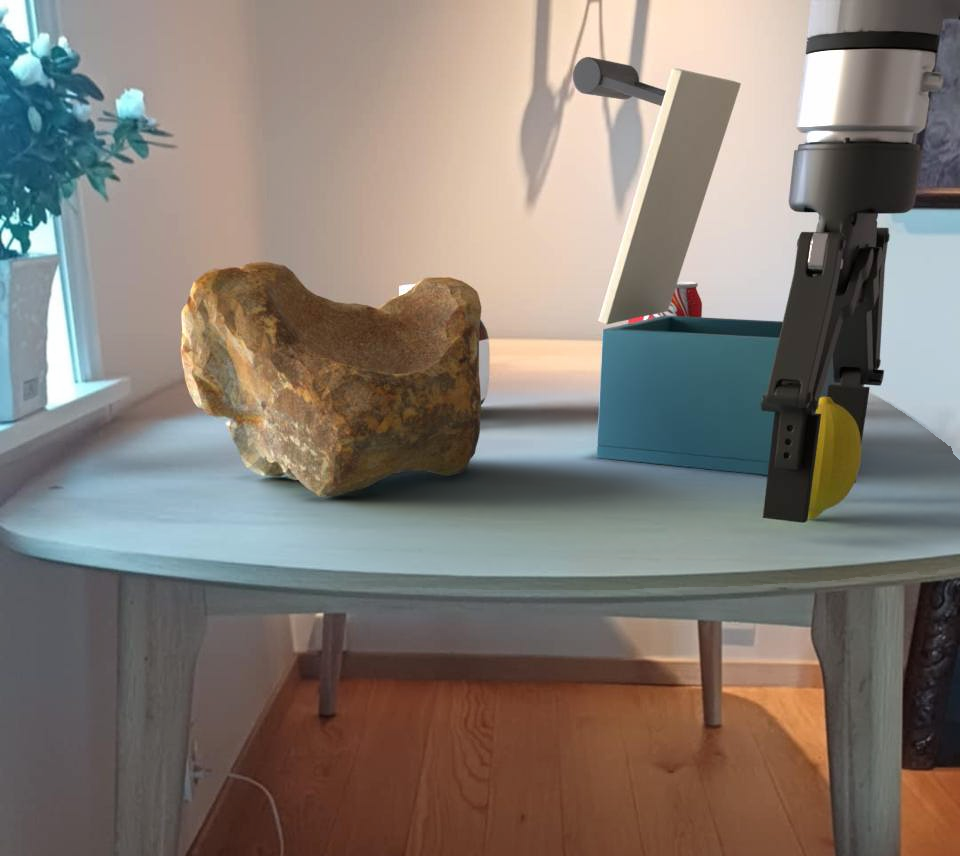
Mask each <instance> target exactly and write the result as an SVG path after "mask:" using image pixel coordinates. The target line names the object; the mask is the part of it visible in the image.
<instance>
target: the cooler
mask: <svg viewBox="0 0 960 856" xmlns="http://www.w3.org/2000/svg"><path fill="white" fill-rule="evenodd" d="M782 323H783V320H782V321H781V320H762V319H761V320H760V319H743V318H741V319H739V318H722V317H704V316H702V317H684V316H660V317H656V318H651V319H647V320H642V321H638V322H633V323H629V324H628V323H625V324H621V325H616V326H611V327H607V328H603V329H602V335H601V337H602V338H601V357H600V360H601V362H600V377H599V378H600V379H599V396H598V397H599V399H598V400H599V401H598V421H597V439H596V440H597V441H596V443H597V445H596V458H597V459H605V460H614V461H615V460H616V461H625V462H633V463H634V462H635V463H645V464H653V465H654V464H656V465H664V466H674V467H682V468H683V467H685V468H693V469H694V468H695V469H702V470H712V471H713V470H714V471H721V472H733V473H743V474H751V475H752V474H753V475H762V476H768V467H769V458H770V449H771V441H772V432H773V423H774V414H775V412H766V411H762V410H761V400H762V396H763V395H764V396H765V395H766V391H767V389H768V385H769V380H770V376H771V371H772V367H773V363H774V358H775V354H776V349H777V345H778V341H779V336H780V332H781V327H782ZM833 374H834V370H833V355H832V359H831V362H830V366H829V369H828V372H827V376H826V379H825V382H824V386H823V389H822V392H821V396H820V397H827V393H828V386H829V385H831V384H834V385H840V383H836V382H834V377H833Z"/></svg>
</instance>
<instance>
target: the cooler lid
mask: <svg viewBox="0 0 960 856" xmlns="http://www.w3.org/2000/svg"><path fill="white" fill-rule="evenodd" d="M572 83H573V86H574V87H575V89H576V90H577V92H579V93H581V94H584V95H588V96H589V95H590V96H597V97H603V98H610V99H617V100H618V99H619V100H624V101H625V100H629V99H631V98H632V97H633V98H636V99H638V100H642V101H645V102H647V103H651V104H653V105H657V106H660V110H659V114H658V116H657V120H656V124H655V128H654V130H653V134H652V137H651V140H650V144H649V148H648V150H647V151H648V152H647V154H646V158H645V162H644V165H643V168H642V172H641V175H640V179H639V181H638V186H637V189H636V192H635V196H634V199H633V203H632V206H631V209H630V213H629V216H628V219H627V223H626V226H625V230H624V233H623V237H622V240H621V243H620V247H619V250H618V253H617V256H616V261H615V264H614V267H613V270H612V274H611V278H610V281H609V285H608V288H607V290H606V291H607V292H606V295H605V298H604V301H603V305H602V308H601V312H600V315H599V318H598V322H600V323H601V324H604V325H611V324H616V323H620V322H624V321H628V320H630V319H634V318H639V317H643V316H648V315H652V314H657V313H661V312H666V311H668V309H669V306H670V303H671V300H672V297H673V294H674V291H675V288H676V284H677V281H679V278H680V275H681V272H682V268H683V266H684V262H685V260H686V256H687V253H688V250H689V247H690V244H691V241H692V237H693V234H694V232H695V228H696V226H697V222H698V219H699V216H700V212H701V210H702V207H703V203H704V200H705V197H706V195H707V191H708V188H709V185H710V181H711V178H712V176H713V172H714V169H715V167H716V163H717V160H718V157H719V153H720V150H721V148H722V144H723V141H724V138H725V135H726V132H727V129H728V125H729V123H730V119H731V117H732V113H733V110H734V107H735V104H736V101H737V98H738V95H739V91H740V88H741V84H742V83H741V82H738V81H735V80H732V79H727V78H723V77H717V76H713V75H708V74H704V73H700V72H695V71H690V70H685V69H681V68H676V67H673V68H672V69H671V72H670V76H669V80H668V83H667V86H666V90H665V89H662V88H659V87H656V86H654V85H651V84H647V83H644V82H641V81H640V76H639V73H638V71H637V69H636V68H635V67H634V66H633V65H629V64H624V63H619V62H617V61H616V62H615V61H610V60H605V59H601V58H596V57H592V56H586V57H582V58H581V59H579V60H578V61H577V62H576V64H575V65H574V68H573V70H572Z"/></svg>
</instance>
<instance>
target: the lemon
mask: <svg viewBox="0 0 960 856" xmlns="http://www.w3.org/2000/svg"><path fill="white" fill-rule="evenodd" d="M815 413H816V414H821V420H820V428H819V435H818V443H817V451H816V458H815V466H814V474H813V481H812V489H811V497H810V504H809V512H808V520H813V519H816V518H817V517H818V516H819V515H821V514H822V513H823V511H825V510H828V509H831V508H833V507H835V506H836V505H838V504H839V503H841V502H842V501H843V500H844V499H845V498H846V496H848V495H849V493H850V492H851V490H852V489H853V486H854V484H855V483H854V482H855V480H856V481H857V478H858V474H859V471H860V467H861V466H860V465H861V459H862V444H861V440H860V433H859V429H858V426H857V423H856V421H855V420H854V418H853V417H852V416H851V414H850V413H849V412H848V411H847V410H845V409H844V408H843V407H841V406H840V405H838V404H835V403H834V402H833V400H832V399H831V398H830V397H820V399H819V404H818V409H817V410H816V412H815ZM856 477H857V478H856Z"/></svg>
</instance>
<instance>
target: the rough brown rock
mask: <svg viewBox="0 0 960 856" xmlns="http://www.w3.org/2000/svg"><path fill="white" fill-rule="evenodd" d="M415 284H416V285H415V286H414V287H412V288H411V289H409V290H408V291H407V292H405V293H403V294H401V295H399V294H398V295H396V296H394V297H392V298H390V299H389V300H387V301H386V302H385V303H383V304H382V305H379V306H378V307H373V306H370V305H367V304H361V303H356V302H353V303H350V302H349V303H347V302H338V301H334V300H331V299H329V298H326V297H323V296H320V295H317V294H315V293H314V292H312V291H311V290H310V289H308V288H307V287H306V286H305V285H304V284H303V282H302V281H301V280H300V279H299V278H298V277H297V275H296V274H295V273H294V272H293V271H292V270H291V269H290V268H289V267H287V266H286V265H284V264H279V263H274V262H269V261H258V262H249V263H246V264H244V265H242V266H240V267H237V266H236V267H235V266H226V267H220V268H213V269H210V270H208V271H206V272H204V273H203V274H202V275H201V276H200V277H198V278H197V279H196V280H195V281H193V284H192V286H191V289H190V293H189V296H188V298H187V302H186V304H185V305H184V307H183V308H182V310H181V331H182V332H181V347H180V355H181V362H182V363H181V364H182V368H183V372H184V381H185V383H186V386H187V390H188V393H189V395H190V397H191V399H192V401H193V403H194V404H195V406H196V407H197V408H198V409H200V410H202V411H203V412H205V413H206V414H207V415H209V416H212V417H215V418H217V419H219V420H221V421H222V422H224V423H225V425H226V427H227V429H228V431H229V433H230V435H231V439H232V441H233V443H234V445H236V448H237V451H238V453H239V456H240V458H241V460H242V462H243V464H244V465H245V467H246V468H247V469H248V470H250V471H251V472H253V473H255V474H257V475H259V476H262V477H271V478H281V477H282V476H283V477H284V476H286V477H287V478H288V479H290V480H293V481H299V482H300V483H301V485H303V486H304V487H305V488H306V489H308V490H309V491H311V492H313V493H315V495H317V496H318V497H321V498H327V499H328V498H333V497H337V496H339V495H343V494H346V493H352V492H356V491H359V490H362V489H365V488H368V487H370V486H371V485H373V484H375V483H377V482H379V481H381V480H383V479H385V478H388V477H389V476H392V475H394V474H399V473H403V472H415V471H422V472H423V471H424V472H428V473H433V474H438V475H440V476H446V477H447V476H448V477H451V476H454V475H458V474H461V473H463V472H464V470H466V468H467V467H468V466H469V464H470V461H471V459H472V458H473V457H474V455H475V454H476V451H477V450H476V449H477V445H478V442H479V439H480V435H481V410H482V405H481V392H480V379H479V326H480V319H481V317H482V304H481V298H480V295H479V293H478V291H477V290H476V289H475V288H473V286H471V285H470V284H468V283H466V282H465V281H463V280H461V279H457V278H453V277H451V276H449V277H448V276H447V277H439V276H438V277H437V276H435V277H430V276H429V277H425V278H422V279H419V280H418V281H417V282H416V283H415Z"/></svg>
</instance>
